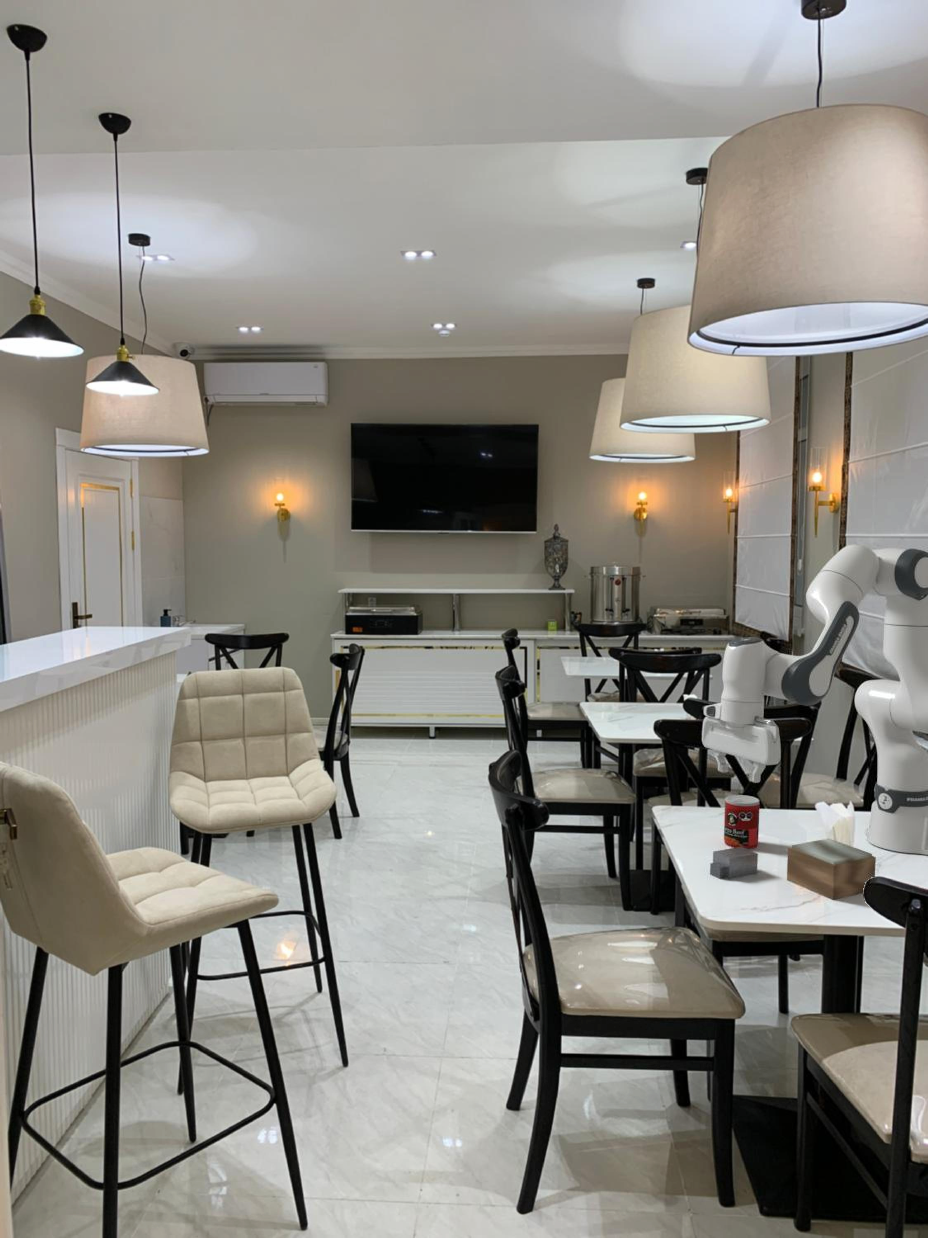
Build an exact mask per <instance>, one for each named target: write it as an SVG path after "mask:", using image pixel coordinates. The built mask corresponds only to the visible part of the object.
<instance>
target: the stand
mask: <svg viewBox="0 0 928 1238" xmlns="http://www.w3.org/2000/svg"><path fill="white" fill-rule="evenodd" d="M876 858H877V857H876V856H874V855H873V853H871V852H868V851H865V850H863V849H859V848H857V847H854V846H851V845H848V844H846V843H843V842H840V841H836V840H834V839H832V838H824V839H819V840H818V839H817V840H813V841H808V842H802V843H797V844H796V843H795V844H792V845H791V846H789V847H787V860H786V861H787V866H786V867H787V868H786V881H789V882H791V883H793V884H795V885H797V886H800V887H803V888H804V889H807V890H810V891H811V892H814V893H816V894H818V895H821V896H823V897H825V898H828V899H830V900H833V901H834V900H837V899H842V898H846V897H851V896H855V895H856V896H857V895H860V894H864V893H863V888H864V885H865V882H866V881H867V880H868V879H870V878H871V877H875V878H876V862H877V861H876V860H877V859H876Z"/></svg>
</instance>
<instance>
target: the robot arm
mask: <svg viewBox="0 0 928 1238" xmlns="http://www.w3.org/2000/svg"><path fill="white" fill-rule="evenodd" d="M867 595H870V596H871V595H872V596H877V597H885V600H886V605H885V609H884V621H883V638H882V639H883V640H882V641H883V642H882V643H883V644H882V645H883V646H882V654H883V657H884V659H885V660H886V661H887V662H888V663H889V664H890V665H891V666H893V667H894V669H895V670H896V672H897V674H898V678H899V680H894V679H893V680H892V679H887V678H884V679H870V680H866V681H864V682H863V683H861V684H860V685H859V687H857V690H856V692H855V695H854V706H855V709H856V712H857V713H858V714H859V716H860V717H861V718H862V719H863V720H864V721H865V722H866V724H867V725H868V727H869V730H870V732H871V735H872V737H873V739H874V743H875V747H876V753H877V754H876V755H877V775H876V777H877V781H876V782H875V785H874V789H873V791H874V794H873V795H874V799H875V800H874V801H873V802H872V804H871V810H870V817H869V823H868V828H866V829H865V835H866V836H867V837H866V840H867V842H868V843H870V844H872V845H874V846H876V847H878V848H881V849H886V850H889V851H893V852H898V853H906V854H917V855H919V854H921V855H924V856H925V855H926V856H928V752H927V751H926V750H925V748H924V747H922V746H921V745H920V744H919V743H918V741H917V739H916V738H915V736H914V732H916V733H917V732H918V733H923V734H928V551H926V550H921V549H917V548H901V547H900V548H899V547H885V548H876V549H875V548H874V549H870V548H869V547H867V546H864V545H861V544H854V543H853V544H848V545H845V546H844V547H842V548H841V549H840V550H839V551H838V552H836V554H835V555H834V556H833V557H831V558H830V559H829V560H828V561H827V562H826V564H825V565H824V566H823V567H822V568H821V570H820V571H819V572H818V574H817V575H816V576H815V577H814V578H813V579H812V581H811V583H810V584H809V586H808V589H807V591H806V593H805V601H806V604H807V607H808V609H809V611H810V613H812V615H813V617H815V618H816V619H817V620H818V621H819V622H820V623H822V624H824V628H823V630H822V631H821V634H820V636H819V637H818V639H817V641H816V643H815V644H814V646H813V649H812V650H811V651H810V652H808V653H805V654H804V655H792V654H786V653H782V652H781V653H780V652H779V651H778V650H775V649H773V648H771V647H770V646H768V645H767V644H766V643H765V641H764V639H762V638H759V637H754V636H748V637H745V636H744V637H738V638H735V639H732V640H730V641H729V642H728V643H727V645H726V647H725V650H724V655H723V660H722V661H723V662H722V672H721V674H722V675H721V676H722V677H721V678H722V683H723V689H722V693H721V696H720V702H717V703H713V704H709V705H705V706H704V707H703V715H704V716H705V717H704V718H703V721H702V728H701V729H702V730H701V742H702V745H703V746H704V747H705V748H706V749H710V750H713V751H714V757H715V760H716V762H717V771H718V772H720V773H723V774H724V773H728V772H729V768H730V767H729V766H730V764H729V763H727V762H726V760H727V759H726V757H725V756H727V755H730V756H733V757H738V758H740V759H745V760H747V761H751V762H753V767H754V769H753V771H752V772H750V773H748V774H749V775H748V780H749V782H751V783H754V784H756V783H757V784H758V783H760V782H761V775H762V773H763V772H764V770H765V769H766V766H773V765H774V766H775V765H777V764H779V762H780V761H781V758H782V757H781V755H782V754H781V753H782V749H781V737H780V729H779V726H778V725H777V724H776V723H775V720H773V719H770V718H769V719H768V718H764V713H765V712H764V708H765V696H769V697H773V698H776V699H780V700H781V699H782V700H786V701H790V702H792V703H795V704H798V705H801V706H803V707H804V706H805V707H810V706H814V705H816V704H818V703H820V702H821V701H822V700H823V699H824V698H825V697H826V696H827V694H828V693H829V691H830V688H831V685H832V682H833V679H834V675H835V672H836V671H837V669H838V666H839V664H840V663H841V660H842V658H843V656H844V655H845V652H846V650H847V648H848V647H849V644H850V643H851V642H852V639H853V637H854V635H855V633H856V630H857V628H858V626H859V621H860V611H859V607H860V605H861V604H862V602H863V600H864V599H865V597H866V596H867Z"/></svg>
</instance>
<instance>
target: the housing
mask: <svg viewBox="0 0 928 1238" xmlns="http://www.w3.org/2000/svg"><path fill="white" fill-rule="evenodd" d="M758 858H759V854H758V853H757V852H756V851H752V850H751V849H746V848H743V847H736V848H733V847H730V848H725V849H721V850H714V851H713V852H712V862H711V863H710V865H709V875H710V876H713V877H714V878H717V879H720V880H721V879H727V880H732V879H738V878H742V877H748V876H752V875H753V876H754V875H757V874H758V863H759V862H758V861H759V859H758Z"/></svg>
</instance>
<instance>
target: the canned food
mask: <svg viewBox="0 0 928 1238" xmlns="http://www.w3.org/2000/svg"><path fill="white" fill-rule="evenodd" d="M760 803H761V802H760V799H759V798H757V797H755V796H751V795H743V794H732V795H728V796H725V800H724V820H723V821H724V823H723V824H724V825H723V827H724V828H723V840H724V844H725V845H726V846H728V847H730V846H731V847H730V848H733V847H734V848H736V847H743V848H746V849H748V850H751V848H752V849H755V848H756V847H757V846H758V845H759V832H760V829H759V828H760V809H761V807H760Z"/></svg>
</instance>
